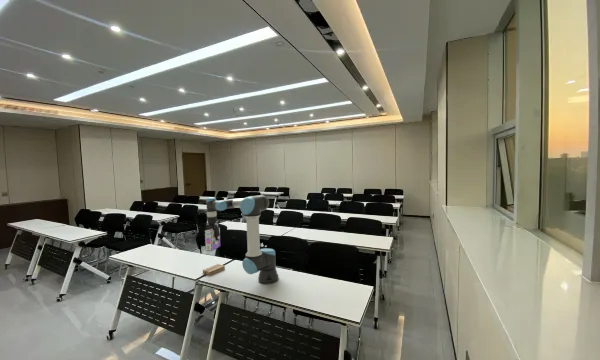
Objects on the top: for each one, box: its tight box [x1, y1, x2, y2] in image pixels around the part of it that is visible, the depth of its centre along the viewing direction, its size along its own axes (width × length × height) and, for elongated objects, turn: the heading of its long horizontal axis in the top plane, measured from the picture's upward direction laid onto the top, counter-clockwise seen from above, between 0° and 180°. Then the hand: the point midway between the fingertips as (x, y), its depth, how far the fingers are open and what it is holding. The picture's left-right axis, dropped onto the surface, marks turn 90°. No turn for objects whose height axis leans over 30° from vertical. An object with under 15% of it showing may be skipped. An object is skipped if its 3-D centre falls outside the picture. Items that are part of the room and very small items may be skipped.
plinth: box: [202, 263, 226, 277], centre depth 208 cm, size 9×15×3 cm, turn 146°
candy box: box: [204, 227, 221, 252], centre depth 206 cm, size 14×6×16 cm, turn 168°
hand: (213, 243), depth 207 cm, fingers closed on candy box, 7 cm apart
